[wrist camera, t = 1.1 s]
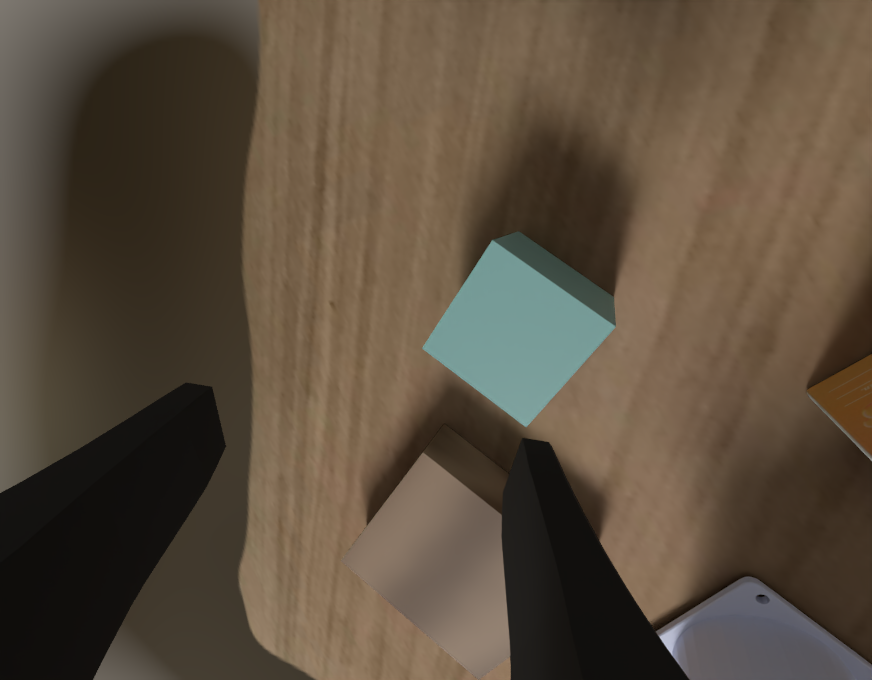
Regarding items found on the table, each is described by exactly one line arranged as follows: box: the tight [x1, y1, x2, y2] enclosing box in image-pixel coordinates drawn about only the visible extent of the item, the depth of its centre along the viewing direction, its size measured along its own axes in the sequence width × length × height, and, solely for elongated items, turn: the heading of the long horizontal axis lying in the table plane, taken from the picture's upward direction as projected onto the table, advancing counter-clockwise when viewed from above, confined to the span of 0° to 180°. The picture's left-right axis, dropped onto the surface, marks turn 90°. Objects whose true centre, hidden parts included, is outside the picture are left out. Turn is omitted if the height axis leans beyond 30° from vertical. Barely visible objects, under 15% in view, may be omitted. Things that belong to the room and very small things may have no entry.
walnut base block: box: [341, 424, 510, 680], centre depth 24 cm, size 10×10×3 cm
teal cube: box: [422, 231, 616, 427], centre depth 18 cm, size 5×5×5 cm
